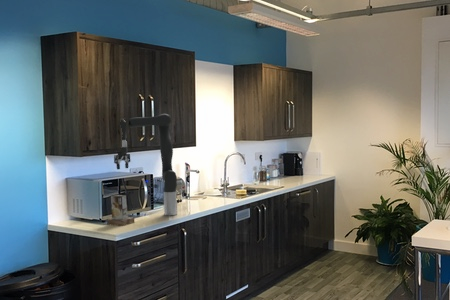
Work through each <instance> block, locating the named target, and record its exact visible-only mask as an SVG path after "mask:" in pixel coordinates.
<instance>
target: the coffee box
mask: <svg viewBox="0 0 450 300" xmlns="http://www.w3.org/2000/svg"><path fill="white" fill-rule="evenodd" d="M110 201H111V202H110V205H111V218H112V219H119V220H124V219H126V218H128V217H129V215H128V202H127V201H128V197H127V195H126V194H115V195H111V196H110Z"/></svg>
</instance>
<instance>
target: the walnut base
mask: <svg viewBox="0 0 450 300" xmlns="http://www.w3.org/2000/svg"><path fill="white" fill-rule="evenodd" d="M106 224H107V225H110V224H111V225H113V226H119V227H121V226H122V227H123V226H126V225H130V224H135V217H133V216H132V217H130V216H128V218H126V219H124V220H119V219H112V217H110V218H107V219H106Z"/></svg>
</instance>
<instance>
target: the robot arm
mask: <svg viewBox="0 0 450 300" xmlns="http://www.w3.org/2000/svg"><path fill="white" fill-rule="evenodd" d="M121 119H122V120H121V122H120V125H121V128H122V132H123V135H122V136H123V137H122V147H121V150H120V153H117V154H114V155H113V156H114V157H113V160H114V161H113V163H114V164H116V169H117V170H120V169H121V164H120V163H121V162H122V161H124V163H125V164H124V167H125V169H128V168H129V163H131V154H130V153H128V141H126V138H127V128H126V121H125V120H124V119H125V118H121ZM128 119H129V118H128ZM171 123H172V118H171V116H170V115H169V114H168V113H160V114H159V115H156V116H145V117H144V116H140V117H131V118H130V119H129V125H130V127H129V128H141V127H150V126H158V130H159V148H160V149H159V150H160V152H159V153H160V158H161V170H162V172H161V177H162V180H163V181H164V186H163V212H164V216H177V214H178V200H177V185H178V184H177V183H178V181H177V176H178V175H177V174H176V172H175V171H173V165H172V164H173V163H172V161H173V154H174V148H173V142H172V137H171V135H170V134H171V133H170V124H171Z"/></svg>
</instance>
